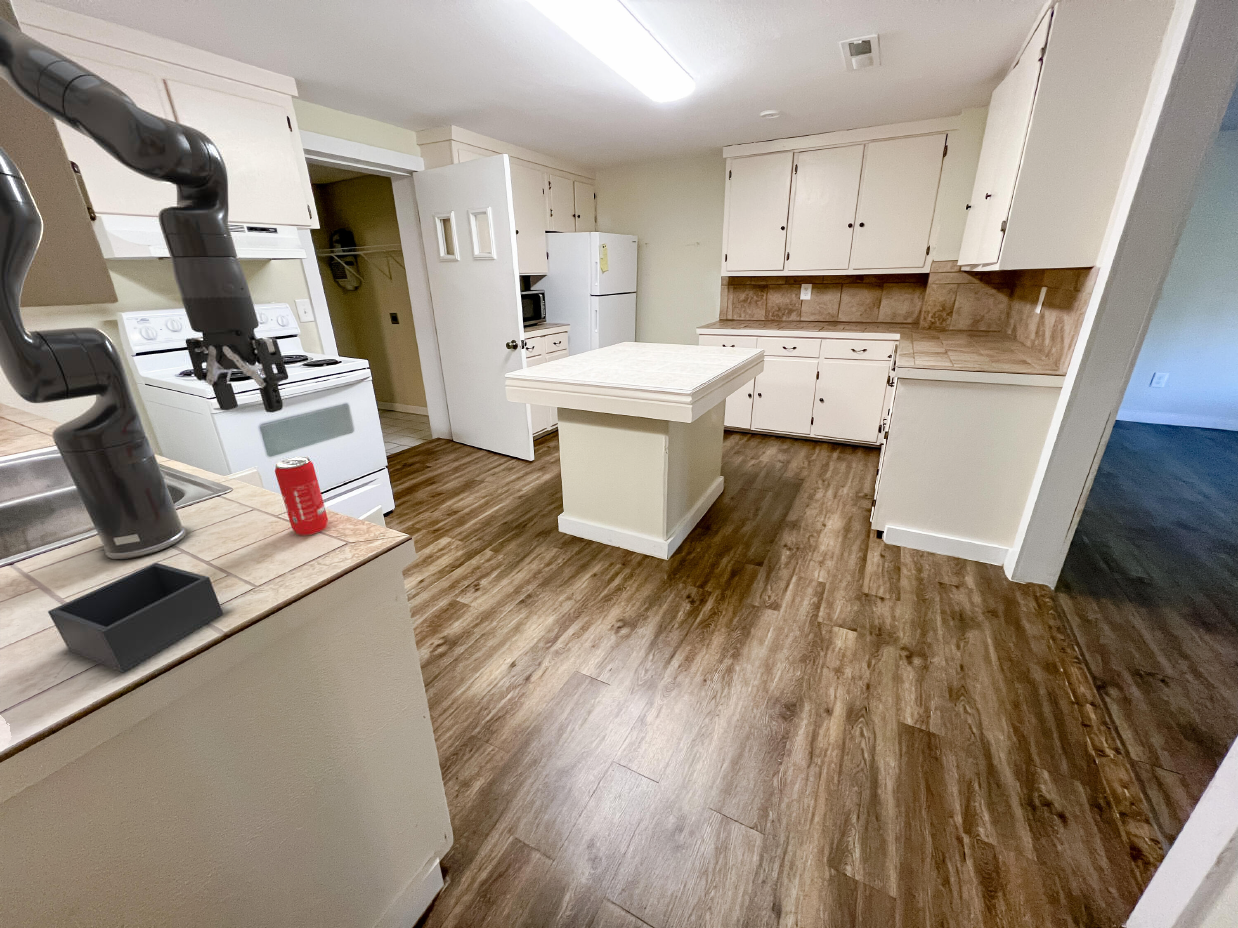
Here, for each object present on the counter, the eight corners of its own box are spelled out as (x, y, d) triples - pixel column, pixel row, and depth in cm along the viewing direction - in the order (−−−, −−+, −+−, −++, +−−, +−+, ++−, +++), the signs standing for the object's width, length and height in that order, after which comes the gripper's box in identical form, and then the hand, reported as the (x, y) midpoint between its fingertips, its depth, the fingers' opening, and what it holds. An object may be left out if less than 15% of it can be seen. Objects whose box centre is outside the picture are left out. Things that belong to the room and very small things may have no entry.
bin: (69, 650, 55) (47, 611, 53) (171, 597, 64) (156, 562, 62) (123, 672, 52) (102, 631, 50) (223, 613, 61) (209, 576, 59)
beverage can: (313, 538, 78) (293, 469, 74) (286, 535, 79) (264, 467, 75) (336, 522, 83) (319, 457, 79) (310, 520, 84) (292, 455, 80)
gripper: (282, 292, 67) (311, 405, 73) (204, 293, 71) (238, 402, 77) (229, 294, 61) (266, 419, 67) (146, 296, 64) (189, 414, 70)
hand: (251, 410), depth 72 cm, fingers open, 8 cm apart
